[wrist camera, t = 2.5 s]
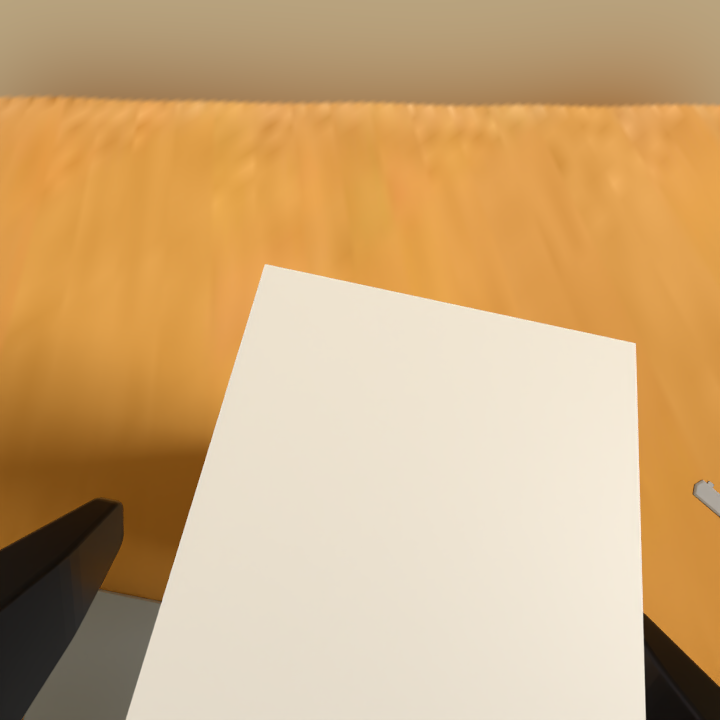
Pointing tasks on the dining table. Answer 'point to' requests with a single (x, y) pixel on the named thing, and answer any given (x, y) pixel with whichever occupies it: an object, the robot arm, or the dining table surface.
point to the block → (408, 521)
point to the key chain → (708, 495)
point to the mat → (99, 662)
